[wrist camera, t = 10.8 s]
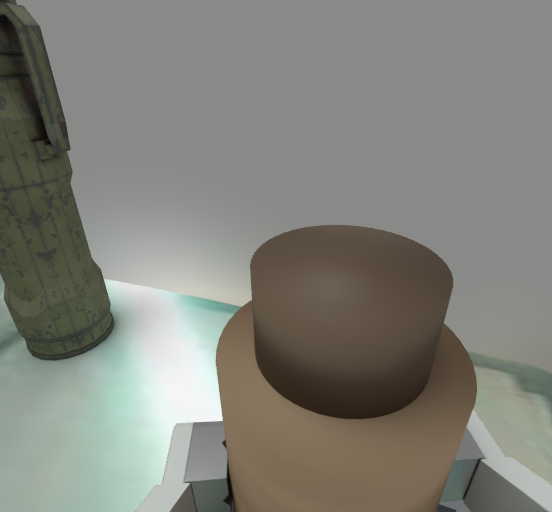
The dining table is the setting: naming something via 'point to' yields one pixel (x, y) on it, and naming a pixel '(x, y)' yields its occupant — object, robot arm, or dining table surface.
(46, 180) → the thermos
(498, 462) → the robot arm
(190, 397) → the dining table surface
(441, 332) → the pepper mill
